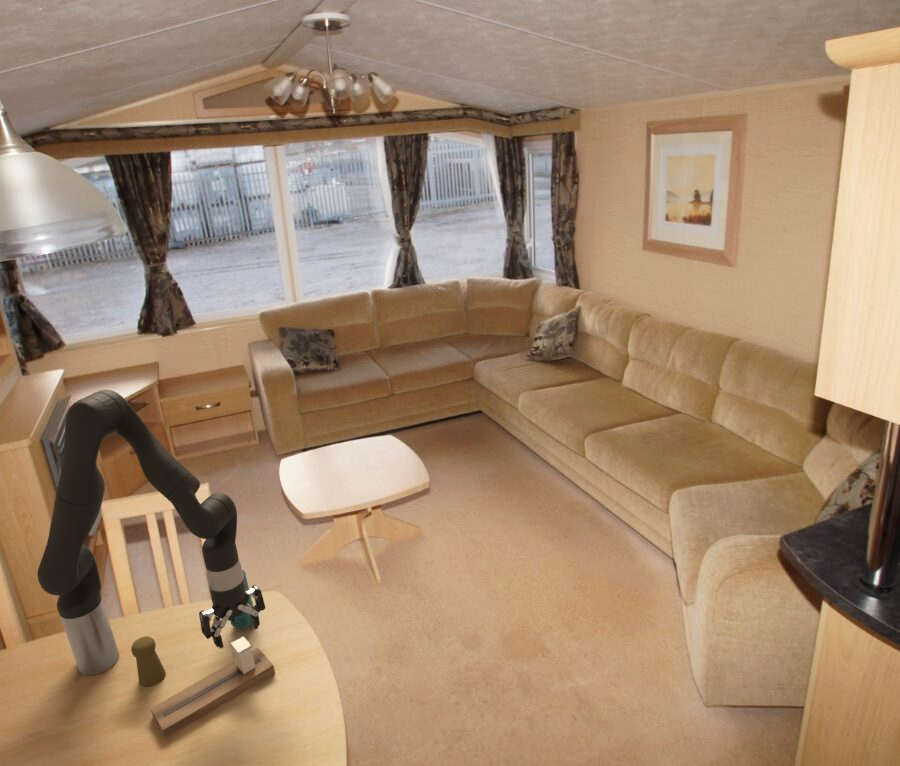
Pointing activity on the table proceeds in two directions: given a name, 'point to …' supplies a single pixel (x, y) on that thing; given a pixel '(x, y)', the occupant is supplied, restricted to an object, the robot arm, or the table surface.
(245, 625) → the beverage bottle
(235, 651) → the fader tab
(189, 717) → the console track
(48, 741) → the table surface
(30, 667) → the table surface
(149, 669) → the cork
